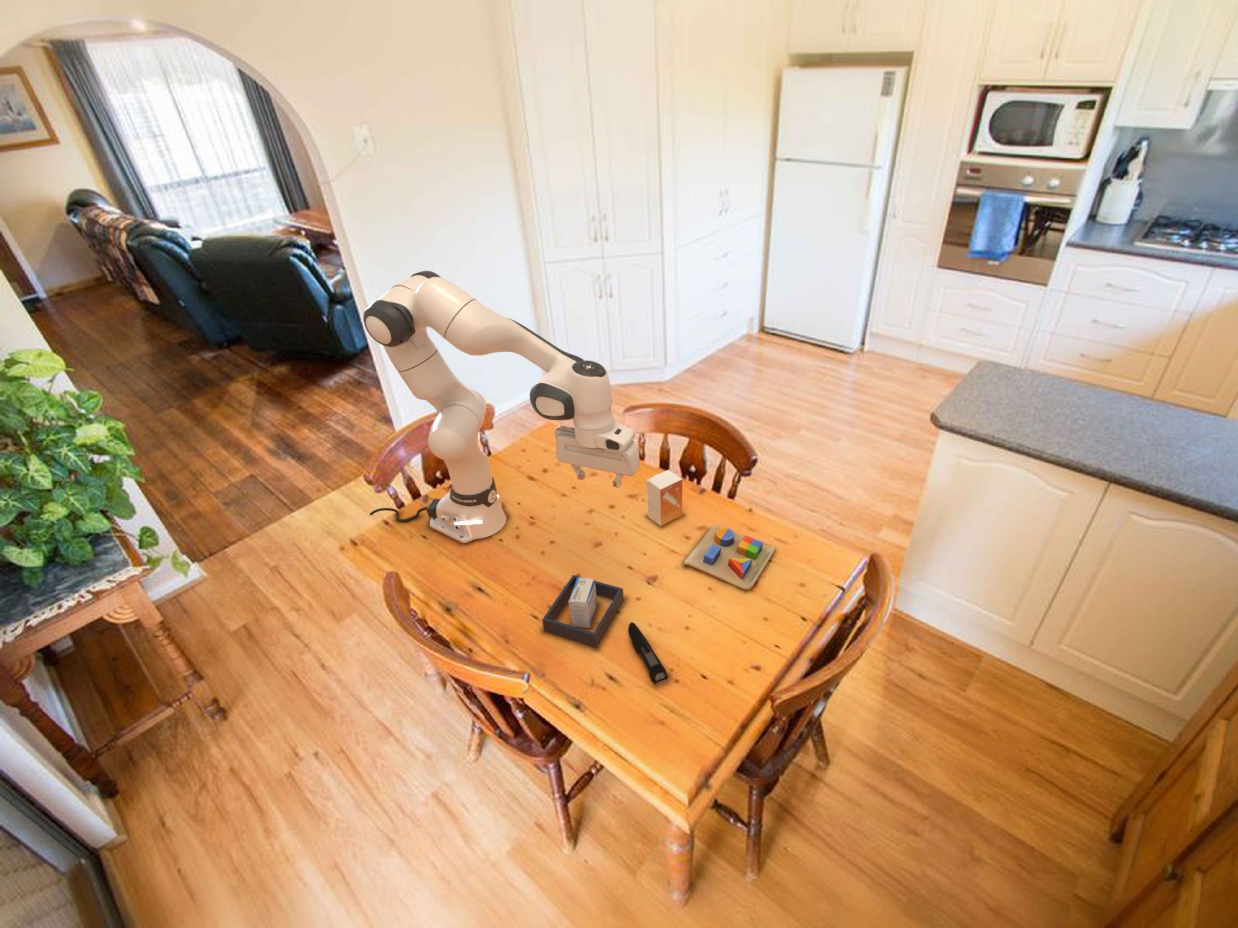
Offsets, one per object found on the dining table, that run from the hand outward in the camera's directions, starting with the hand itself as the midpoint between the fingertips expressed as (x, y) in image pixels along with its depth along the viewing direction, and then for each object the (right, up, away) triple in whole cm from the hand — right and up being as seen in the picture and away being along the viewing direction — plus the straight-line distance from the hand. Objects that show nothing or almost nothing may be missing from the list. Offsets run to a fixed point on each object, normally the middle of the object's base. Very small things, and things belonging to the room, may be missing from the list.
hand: (599, 482), depth 144 cm
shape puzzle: (+34, -21, +15) cm, 42 cm away
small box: (+18, -11, +31) cm, 38 cm away
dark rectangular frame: (-3, -32, +2) cm, 32 cm away
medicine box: (-3, -32, +2) cm, 32 cm away
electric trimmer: (+11, -39, -9) cm, 41 cm away
